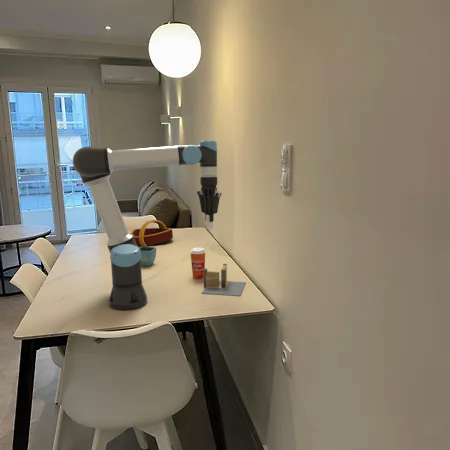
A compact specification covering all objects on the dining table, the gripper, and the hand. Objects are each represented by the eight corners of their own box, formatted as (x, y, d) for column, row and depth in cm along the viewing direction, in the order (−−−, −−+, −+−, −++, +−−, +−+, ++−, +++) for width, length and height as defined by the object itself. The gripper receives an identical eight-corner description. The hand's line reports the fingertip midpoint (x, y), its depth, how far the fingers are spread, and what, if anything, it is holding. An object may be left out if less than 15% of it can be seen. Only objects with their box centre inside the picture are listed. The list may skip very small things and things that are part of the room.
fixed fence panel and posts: (225, 288, 177) (225, 270, 175) (203, 287, 179) (203, 269, 177) (226, 287, 179) (225, 269, 177) (204, 286, 180) (204, 268, 179)
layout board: (240, 296, 168) (240, 295, 168) (201, 293, 171) (201, 292, 171) (245, 282, 184) (245, 282, 184) (210, 280, 187) (210, 280, 187)
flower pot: (151, 267, 209) (150, 251, 207) (135, 266, 210) (135, 250, 209) (157, 262, 217) (156, 247, 215) (142, 262, 219) (141, 246, 217)
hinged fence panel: (225, 285, 179) (225, 269, 178) (221, 285, 179) (221, 269, 178) (226, 278, 188) (226, 263, 186) (223, 278, 188) (223, 263, 186)
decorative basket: (151, 238, 287) (147, 217, 285) (185, 235, 275) (181, 214, 273) (121, 249, 257) (117, 227, 255) (159, 247, 245) (154, 223, 243)
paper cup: (189, 279, 190) (188, 251, 187) (192, 274, 197) (191, 247, 195) (205, 279, 189) (204, 251, 186) (207, 274, 196) (207, 247, 194)
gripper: (225, 176, 172) (225, 229, 176) (204, 175, 180) (204, 225, 185) (213, 177, 166) (214, 231, 171) (192, 176, 175) (193, 228, 179)
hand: (209, 228), depth 178 cm, fingers closed
